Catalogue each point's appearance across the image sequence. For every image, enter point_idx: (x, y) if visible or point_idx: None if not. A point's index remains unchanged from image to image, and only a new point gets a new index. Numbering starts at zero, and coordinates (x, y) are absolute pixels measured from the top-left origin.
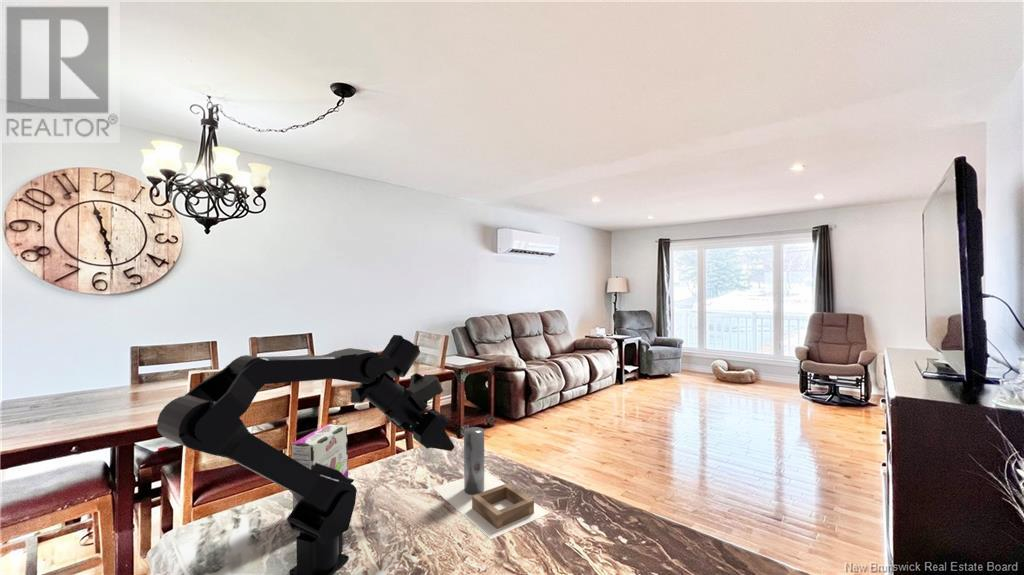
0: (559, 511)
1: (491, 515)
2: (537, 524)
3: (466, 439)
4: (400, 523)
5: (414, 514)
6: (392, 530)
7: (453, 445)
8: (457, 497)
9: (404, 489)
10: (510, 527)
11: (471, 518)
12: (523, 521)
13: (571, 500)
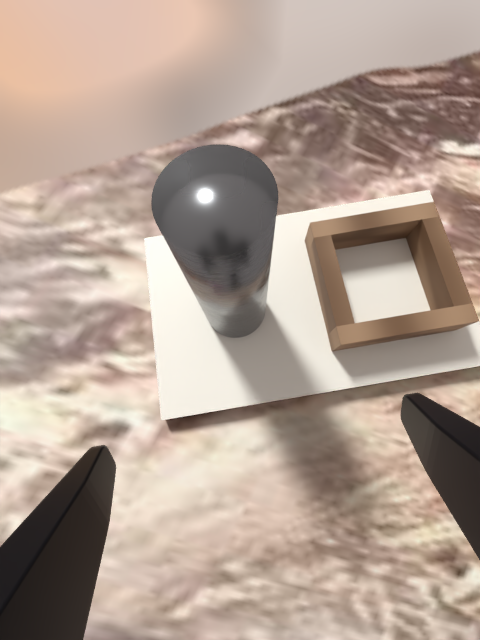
0: (403, 168)
1: (442, 329)
2: None
3: (237, 267)
4: (292, 568)
5: (261, 511)
6: (319, 604)
7: (431, 402)
8: (255, 368)
9: None
10: None
11: (381, 372)
12: None
13: (370, 125)
